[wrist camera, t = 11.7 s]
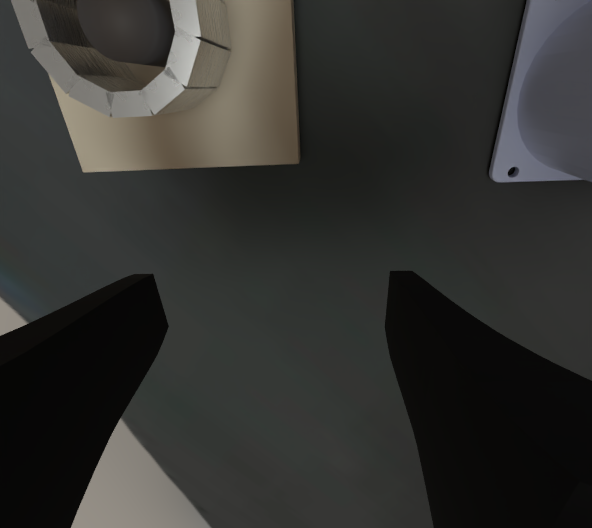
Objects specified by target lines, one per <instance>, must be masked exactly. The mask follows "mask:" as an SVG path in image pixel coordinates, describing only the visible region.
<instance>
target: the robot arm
mask: <svg viewBox="0 0 592 528" xmlns="http://www.w3.org/2000/svg"><path fill="white" fill-rule="evenodd" d="M512 167H515V171H514V173H513V174H512V175H509V176H508V171H509V169H511V168H512ZM489 176H490V178H491V179H492V180H494V181H495V182H528V181H558V180H587V181H590V182H592V0H527V1H526V6H525V10H524V15H523V20H522V24H521V29H520V33H519V38H518V42H517V47H516V51H515V56H514V60H513V65H512V69H511V74H510V79H509V83H508V88H507V92H506V97H505V101H504V106H503V110H502V115H501V119H500V124H499V128H498V133H497V138H496V142H495V147H494V151H493V156H492V160H491V165H490V169H489ZM168 327H169V326H168V323H167V319H166V316H165V312H164V309H163V306H162V302H161V299H160V296H159V292H158V289H157V285H156V282H155V279H154V275H153V274H134V275H131V276H128V277H125V278H123V279H121V280H118V281H116V282H114V283H112V284H110V285H108V286H105V287H103V288H101V289H99V290H97V291H95V292H93V293H91V294H89V295H87V296H85V297H83V298H81V299H79V300H77V301H75V302H73V303H71V304H69V305H67V306H65V307H63V308H61V309H59V310H57V311H54V312H52V313H50V314H48V315H46V316H44V317H42V318H39V319H37V320H35V321H33V322H31V323H29V324H27V325H24V326H22V327H20V328H18V329H15V330H13V331H11V332H8V333H6V334H4V335H1V336H0V528H71V525H72V523H73V520H74V518H75V515H76V513H77V510H78V508H79V505H80V503H81V501H82V499H83V496H84V494H85V492H86V489H87V487H88V484H89V482H90V480H91V478H92V475H93V473H94V471H95V468H96V466H97V464H98V462H99V460H100V458H101V456H102V453H103V451H104V449H105V447H106V445H107V443H108V440H109V438H110V436H111V434H112V432H113V431H114V429H115V427H116V425H117V423H118V421H119V419H120V418H121V416H122V414H123V413H124V411H125V409H126V408H127V406H128V404H129V402H130V401H131V399H132V397H133V396H134V394H135V392H136V391H137V389H138V387H139V386H140V384H141V382H142V380H143V379H144V377H145V375H146V374H147V372H148V370H149V368H150V367H151V365H152V363H153V361H154V360H155V358H156V356H157V354H158V352H159V350H160V347H161V345H162V343H163V340H164V337H165V335H166V332H167V330H168ZM385 331H386V337H387V343H388V348H389V354H390V358H391V361H392V365H393V368H394V371H395V374H396V378H397V381H398V384H399V387H400V390H401V393H402V397H403V400H404V403H405V406H406V409H407V412H408V416H409V419H410V422H411V425H412V428H413V432H414V436H415V439H416V443H417V447H418V452H419V457H420V462H421V466H422V471H423V476H424V480H425V485H426V490H427V495H428V500H429V506H430V511H431V516H432V521H433V526H434V528H592V381H591V380H589V379H586V378H584V377H582V376H580V375H578V374H576V373H574V372H572V371H570V370H567V369H565V368H563V367H561V366H559V365H557V364H555V363H553V362H551V361H549V360H547V359H545V358H543V357H541V356H539V355H537V354H535V353H534V352H532V351H530V350H528V349H526V348H525V347H523V346H521V345H519V344H517V343H516V342H514V341H512V340H510V339H508V338H507V337H505V336H503V335H502V334H500V333H498V332H497V331H495V330H494V329H492V328H490V327H489V326H487V325H486V324H484V323H483V322H481V321H480V320H478V319H477V318H475V317H474V316H472V315H471V314H469V313H468V312H466V311H465V310H464V309H462V308H461V307H459V306H458V305H457V304H455V303H454V302H452V301H451V300H450V299H448V298H447V297H446V296H444V295H443V294H442V293H440V292H439V291H438V290H437V289H435V288H434V287H433V286H431V285H430V284H429V283H428V282H426V281H425V280H424V279H422V278H421V277H420V276H418V275H417V274H416V273H414V272H413V271H390V277H389V288H388V298H387V309H386V320H385Z"/></svg>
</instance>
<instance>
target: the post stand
mask: <svg viewBox="0 0 592 528" xmlns="http://www.w3.org/2000/svg"><path fill="white" fill-rule="evenodd" d="M224 1H225V5H226V6H227V14H228V23H229V31H230V40H231V48H232V49H227V50H229V51H230V52H231V54H230V57H229V60H228V63H227V66H226V69H225V72H224V75H223V78H222V80H221V83H220V86H219V87H217V88H218V89H217V90H216V91H214V92H213V93H212V94H211V95H210V96H208V97H207V98H206V99H205V100H203V101H202V102H201V103H200V104H198V105H197V106H196V107H195V108H192V109H189V110H183V111H177V112H172V113H166V114H160V115H154V116H140V117H121V118H113V117H108V116H106V115H104V114H102V113H100V112H98V111H97V110H95V109H93V108H91V107H89V106H87V105H85V104H83V103H81V102H79V101H77V100H75V99H73V98H71V97H69V94H65V92H64V91H63V90H62V89H61V88H60V86H59V85H58V84H57V83H56V82H55V80H54V79H53V78H52V77H51V76H50V75H49V76H50V79H51V82H52V85H53V88H54V90H55V93H56V96H57V99H58V102H59V105H60V108H61V110H62V113H63V116H64V119H65V122H66V125H67V127H68V130H69V133H70V136H71V139H72V142H73V144H74V147H75V150H76V153H77V156H78V159H79V161H80V164H81V167H82V170H83V172H106V171H131V170H156V169H180V168H205V167H230V166H255V165H280V164H299V161H300V158H301V157H300V135H299V113H298V90H297V68H296V45H295V23H294V0H224ZM77 12H78V18H79V22H80V24H81V27H82V30H83V32H84V34H85V35H86V37H87V39H88V40H89V42H90V43H91V44H92V45H93V47H94V48H95V49H96V50H97V51H98V52H100V53H101V54H102V55H104V56H105V57H107V58H109V59H111V60H114V61H118V62H125V64H126V65H127V66H128V68H129V69H130V71H131V72H132V73H133V75H134V76H135V77H136V78H137V79H139V80H141V81H143V82H145V83H147V84H149V83H150V82H151V81H152V80H154V79H155V78H156V77H157V76H158V75H159V74H160V73H162V72H163V71H164V70H165V68H166V64H167V61H168V57H169V53H170V49H171V46H172V42H173V38H174V35H175V28H174V23H173V17H172V12H171V6H170V1H169V0H77Z"/></svg>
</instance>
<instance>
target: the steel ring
mask: <svg viewBox="0 0 592 528" xmlns="http://www.w3.org/2000/svg"><path fill="white" fill-rule="evenodd" d="M169 1H170V6H171V12H172V17H173V23H174V28H175V35H174V38H173V42H172V46H171V49H170V53H169V57H168V61H167V64H166V68H165V70H164V71H163V72H162V73H160V74H159V75H158V76H157V77H156V78H155V79H154V80H152V81H151V82H150V83H149V84H147V83H145V82H143V81H141V80H139V79H137V78H136V77H135V76H134V75H133V73H132V72H131V71H130V69H129V68H128V66H127V65H126V64H125V62H118V61H114V60H111V59H109V58H107V57H105V56H104V55H102V54H101V53H100V52H98V51H97V50H96V49H95V48H94V47H93V45H92V44H91V43H90V42H89V40H88V39H87V37H86V35H85V34H84V32H83V30H82V27H81V24H80V22H79V18H78V12H77V0H11V2H12V4H13V7H14V10H15V13H16V15H17V18H18V21H19V24H20V26H21V29H22V32H23V35H24V37H25V40H26V43H27V46H28V48H29V49H33V50H32V52H31V53H32V54H33V56H34V57H35V58H36V59H37V60H38V62H39V63H40V64H41V65H42V66H43V67H44V69H45V70H46V71H47V72H48V73H49V75H50V76H51V77H52V78H53V79H54V80H55V82H56V83H57V84H58V85H59V86H60V88H61V89H62V90H63V91H64V92H65V94H69V97H71V98H73V99H75V100H77V101H79V102H81V103H83V104H85V105H87V106H89V107H91V108H93V109H95V110H97V111H98V112H100V113H102V114H104V115H106V116H108V117H113V118H121V117H140V116H154V115H160V114H166V113H172V112H177V111H183V110H189V109H192V108H195V107H196V106H197V105H198V104H200V103H201V102H202V101H203V100H205V99H206V98H207V97H208V96H210V95H211V94H212V93H213V92H214V91H216V90H217V89H218V88H217V87H219V86H220V83H221V80H222V78H223V75H224V72H225V69H226V66H227V63H228V60H229V57H230V54H231V52H230V51H229V50H227V49H232V48H231V40H230V31H229V23H228V14H227V6H226V5H225V1H224V0H169Z"/></svg>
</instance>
